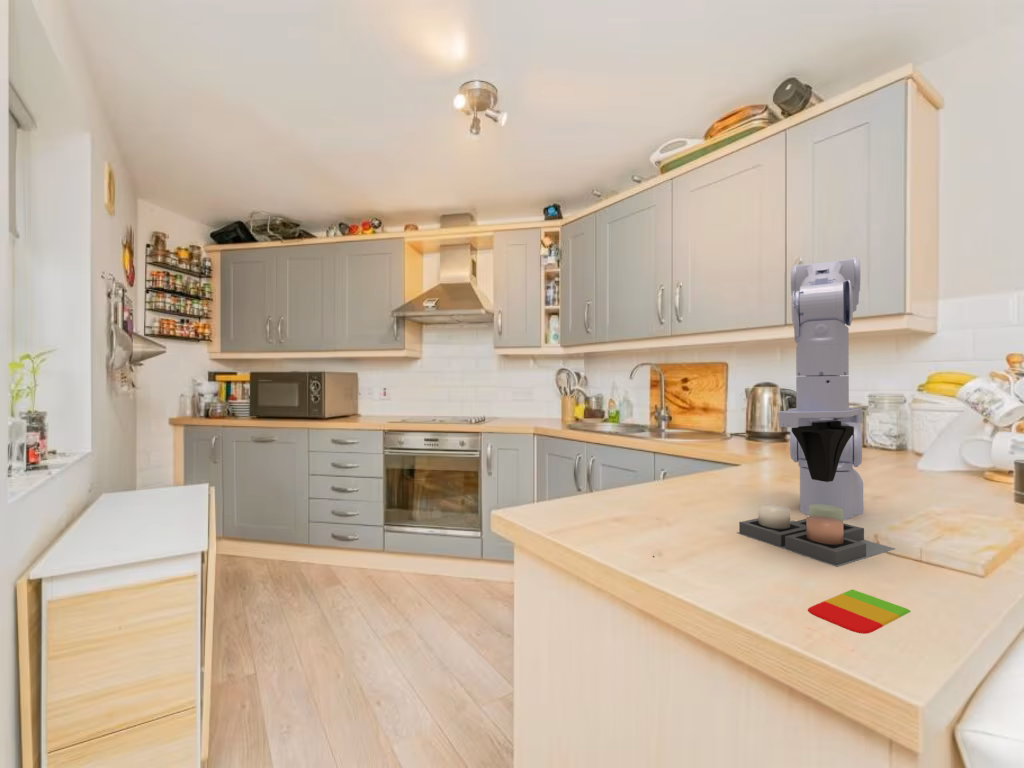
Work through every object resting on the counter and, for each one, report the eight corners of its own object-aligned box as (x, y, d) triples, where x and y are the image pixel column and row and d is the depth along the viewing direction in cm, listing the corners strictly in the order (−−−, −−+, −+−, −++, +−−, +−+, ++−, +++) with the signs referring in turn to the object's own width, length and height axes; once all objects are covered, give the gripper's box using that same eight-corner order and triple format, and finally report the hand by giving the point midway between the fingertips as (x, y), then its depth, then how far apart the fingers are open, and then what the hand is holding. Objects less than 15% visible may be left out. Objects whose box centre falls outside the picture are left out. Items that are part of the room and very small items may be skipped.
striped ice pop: (800, 627, 46) (800, 607, 46) (877, 592, 53) (877, 576, 53) (864, 656, 41) (864, 635, 41) (939, 614, 48) (940, 596, 48)
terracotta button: (818, 532, 63) (818, 514, 63) (850, 541, 60) (850, 522, 60) (799, 536, 62) (799, 518, 62) (831, 546, 58) (831, 527, 58)
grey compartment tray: (792, 527, 74) (792, 510, 74) (895, 557, 62) (895, 536, 62) (736, 540, 69) (736, 521, 69) (837, 576, 56) (837, 553, 56)
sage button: (820, 519, 69) (820, 502, 69) (849, 526, 66) (849, 509, 66) (803, 522, 68) (803, 506, 68) (832, 530, 64) (832, 513, 64)
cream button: (770, 518, 70) (770, 502, 70) (796, 526, 66) (796, 509, 66) (752, 522, 68) (752, 506, 68) (778, 530, 64) (778, 513, 64)
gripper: (824, 376, 68) (824, 470, 68) (756, 376, 61) (756, 479, 62) (879, 375, 61) (880, 479, 61) (810, 376, 55) (810, 490, 55)
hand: (822, 480), depth 61 cm, fingers closed
